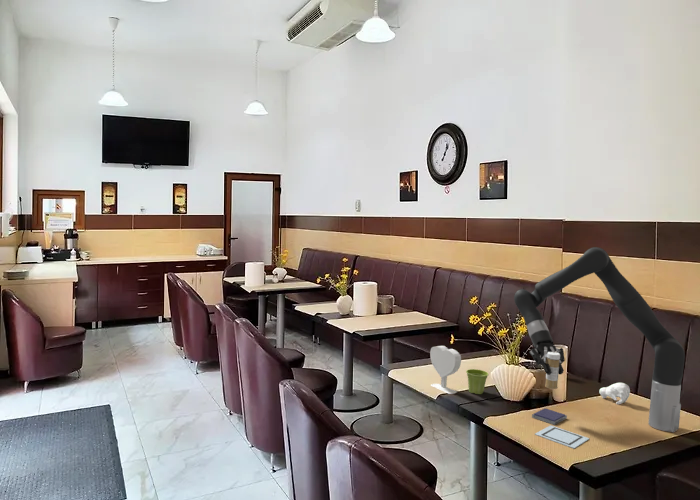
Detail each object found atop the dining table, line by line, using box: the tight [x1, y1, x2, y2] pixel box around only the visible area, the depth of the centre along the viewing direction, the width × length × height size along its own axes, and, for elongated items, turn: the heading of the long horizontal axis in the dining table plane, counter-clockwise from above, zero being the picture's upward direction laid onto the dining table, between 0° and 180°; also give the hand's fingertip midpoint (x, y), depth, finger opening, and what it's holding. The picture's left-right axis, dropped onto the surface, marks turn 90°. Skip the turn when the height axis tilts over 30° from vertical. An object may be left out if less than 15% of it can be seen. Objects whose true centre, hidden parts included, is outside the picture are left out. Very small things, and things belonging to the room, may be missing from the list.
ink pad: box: [531, 407, 568, 426], centre depth 202 cm, size 9×10×2 cm
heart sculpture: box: [429, 345, 462, 395], centre depth 230 cm, size 16×5×18 cm, turn 34°
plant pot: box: [465, 368, 489, 395], centre depth 228 cm, size 9×9×9 cm
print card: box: [534, 424, 590, 450], centre depth 185 cm, size 14×12×1 cm
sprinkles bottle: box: [544, 352, 560, 390], centre depth 201 cm, size 5×5×13 cm
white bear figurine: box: [599, 382, 631, 405], centre depth 224 cm, size 6×8×12 cm
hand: (555, 373), depth 199 cm, fingers closed on sprinkles bottle, 4 cm apart
